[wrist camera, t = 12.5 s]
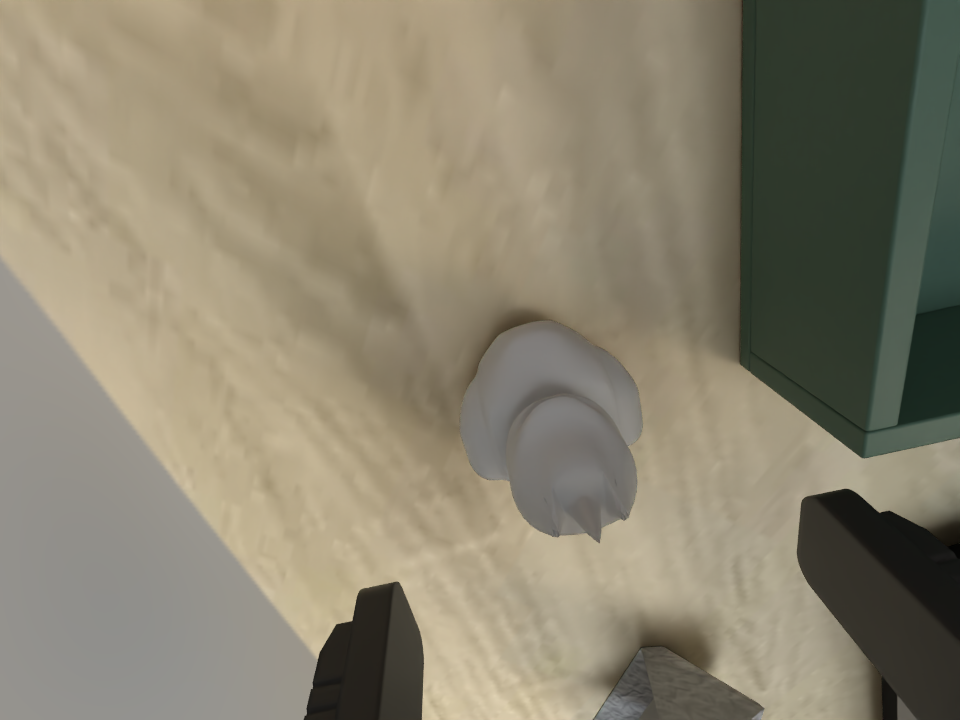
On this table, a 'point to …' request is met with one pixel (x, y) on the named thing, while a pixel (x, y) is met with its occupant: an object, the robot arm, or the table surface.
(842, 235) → the box
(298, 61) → the table surface
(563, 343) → the grey rounded piece
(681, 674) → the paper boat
